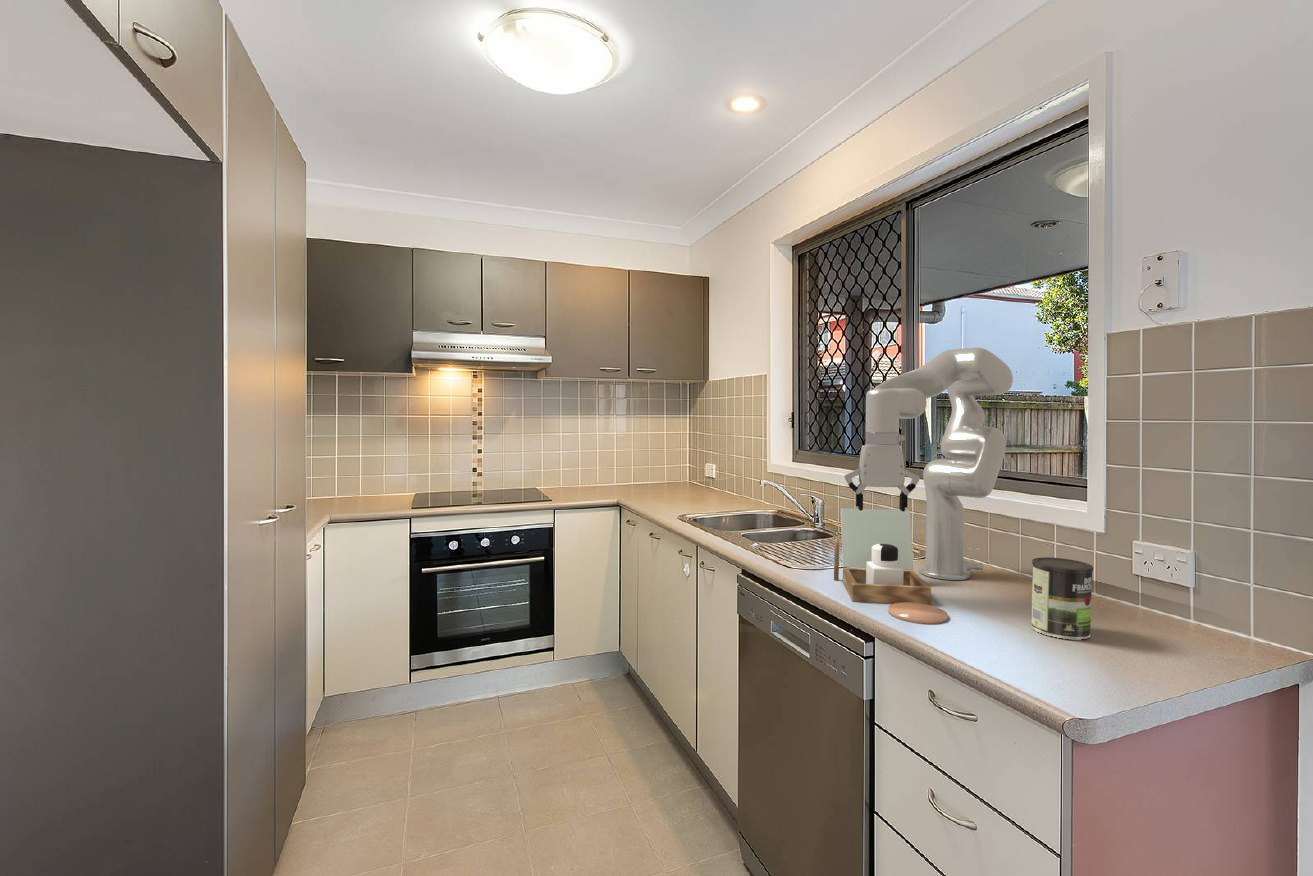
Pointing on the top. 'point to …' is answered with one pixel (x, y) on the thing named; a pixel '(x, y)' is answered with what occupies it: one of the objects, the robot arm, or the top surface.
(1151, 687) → the top surface
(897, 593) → the frame
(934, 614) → the saucer
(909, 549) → the lid
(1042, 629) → the coffee can
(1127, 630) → the top surface
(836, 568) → the prop stake
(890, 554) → the medicine bottle
